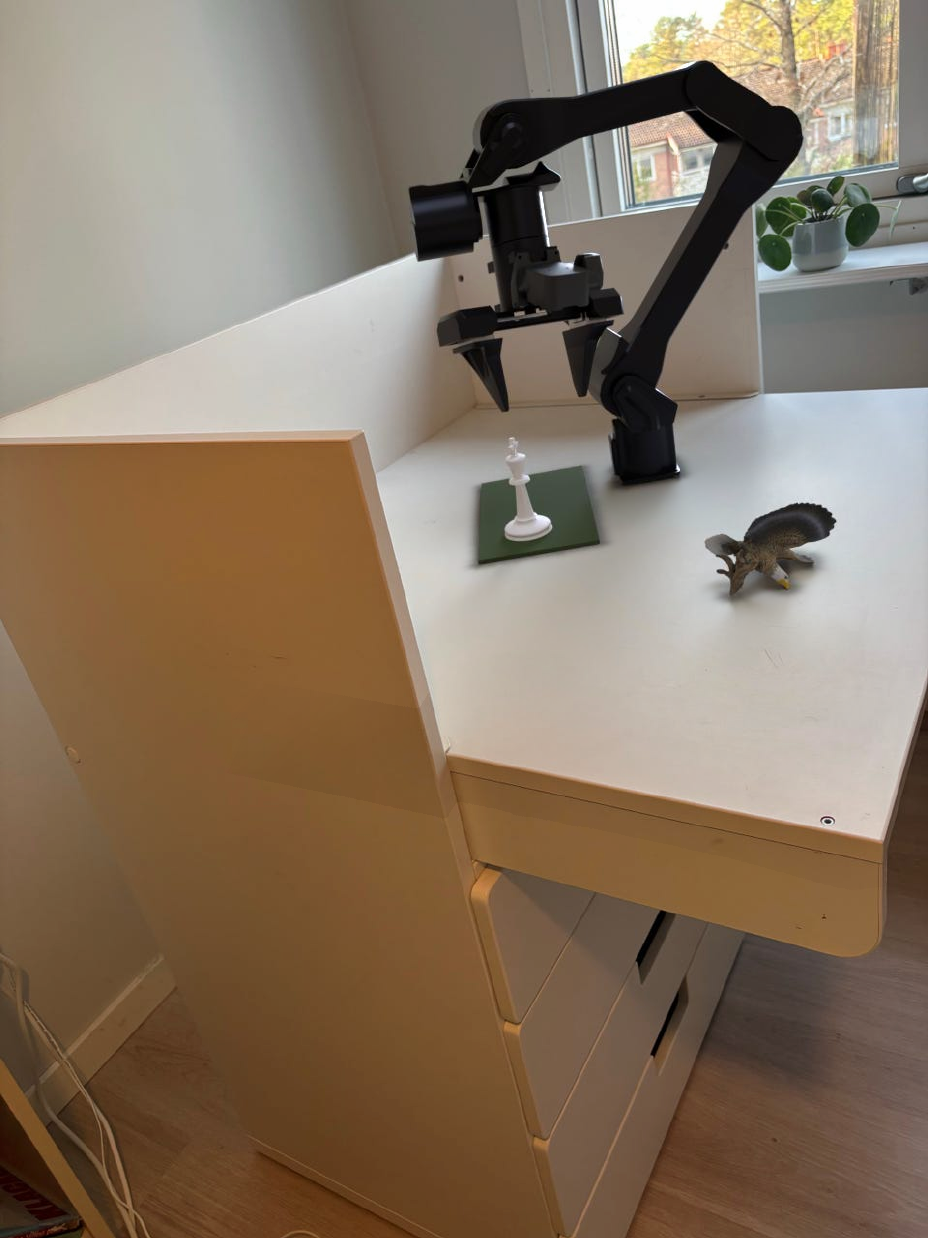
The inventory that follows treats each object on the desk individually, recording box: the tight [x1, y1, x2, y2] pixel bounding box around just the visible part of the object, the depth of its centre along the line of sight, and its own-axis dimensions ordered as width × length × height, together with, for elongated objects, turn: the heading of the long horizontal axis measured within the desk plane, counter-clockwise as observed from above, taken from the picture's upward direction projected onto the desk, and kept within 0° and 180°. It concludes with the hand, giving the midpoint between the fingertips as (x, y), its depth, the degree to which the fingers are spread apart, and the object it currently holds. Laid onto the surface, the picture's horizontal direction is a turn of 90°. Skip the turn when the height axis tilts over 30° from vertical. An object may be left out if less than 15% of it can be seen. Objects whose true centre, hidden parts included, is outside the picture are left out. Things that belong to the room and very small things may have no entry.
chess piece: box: [504, 437, 552, 541], centre depth 93 cm, size 5×5×10 cm
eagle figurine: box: [703, 502, 838, 597], centre depth 76 cm, size 8×7×9 cm
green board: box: [477, 465, 601, 565], centre depth 100 cm, size 12×22×1 cm, turn 178°
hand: (544, 404), depth 95 cm, fingers open, 9 cm apart
